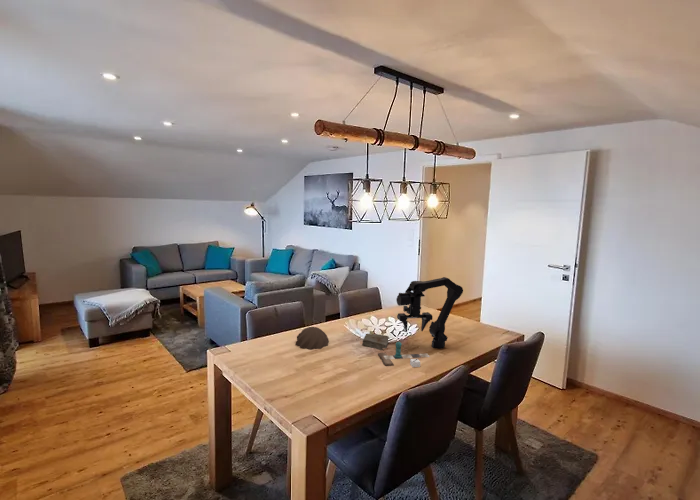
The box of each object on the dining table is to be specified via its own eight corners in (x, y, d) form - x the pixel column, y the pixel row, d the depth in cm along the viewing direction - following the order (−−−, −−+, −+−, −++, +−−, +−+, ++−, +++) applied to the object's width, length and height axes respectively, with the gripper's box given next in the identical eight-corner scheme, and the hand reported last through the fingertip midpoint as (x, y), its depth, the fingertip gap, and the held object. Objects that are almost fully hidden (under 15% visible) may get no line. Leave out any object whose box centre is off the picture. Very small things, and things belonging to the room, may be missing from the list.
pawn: (400, 355, 202) (400, 340, 201) (402, 358, 199) (403, 343, 197) (393, 355, 201) (394, 340, 200) (395, 358, 198) (396, 343, 197)
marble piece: (386, 351, 211) (386, 344, 210) (360, 348, 214) (360, 341, 214) (390, 340, 227) (390, 334, 226) (366, 338, 230) (366, 331, 230)
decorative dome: (304, 352, 207) (304, 335, 205) (290, 340, 224) (290, 324, 222) (334, 346, 217) (335, 329, 215) (319, 335, 233) (320, 319, 232)
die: (417, 366, 193) (417, 358, 192) (420, 369, 189) (420, 361, 188) (409, 366, 192) (410, 358, 192) (412, 369, 188) (412, 362, 188)
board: (426, 352, 211) (426, 349, 210) (436, 362, 197) (436, 360, 197) (378, 354, 205) (378, 352, 205) (385, 366, 192) (385, 363, 192)
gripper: (425, 299, 216) (424, 326, 218) (394, 300, 212) (393, 327, 215) (433, 305, 205) (432, 332, 207) (400, 306, 202) (399, 334, 204)
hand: (414, 331), depth 208 cm, fingers open, 9 cm apart
